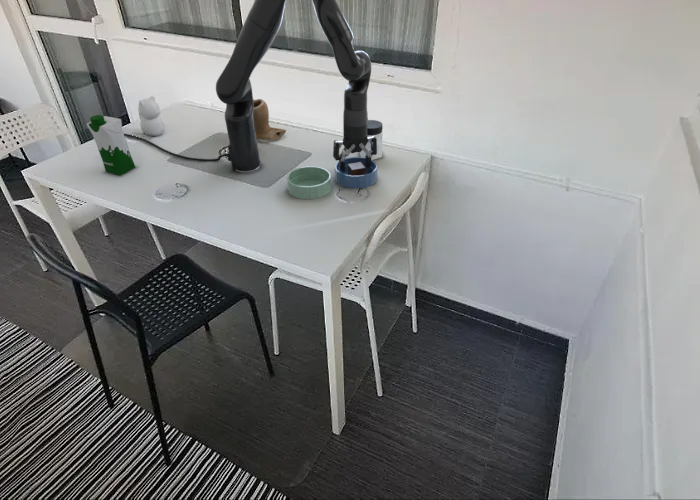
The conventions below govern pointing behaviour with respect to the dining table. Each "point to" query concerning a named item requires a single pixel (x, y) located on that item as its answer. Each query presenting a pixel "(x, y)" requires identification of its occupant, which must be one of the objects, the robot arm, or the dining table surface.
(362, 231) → the dining table surface
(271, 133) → the tan boot
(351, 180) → the blue bowl
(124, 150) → the milk carton
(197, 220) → the dining table surface
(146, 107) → the cat figurine
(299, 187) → the celadon bowl
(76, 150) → the dining table surface
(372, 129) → the jar
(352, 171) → the walnut block
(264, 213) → the dining table surface
